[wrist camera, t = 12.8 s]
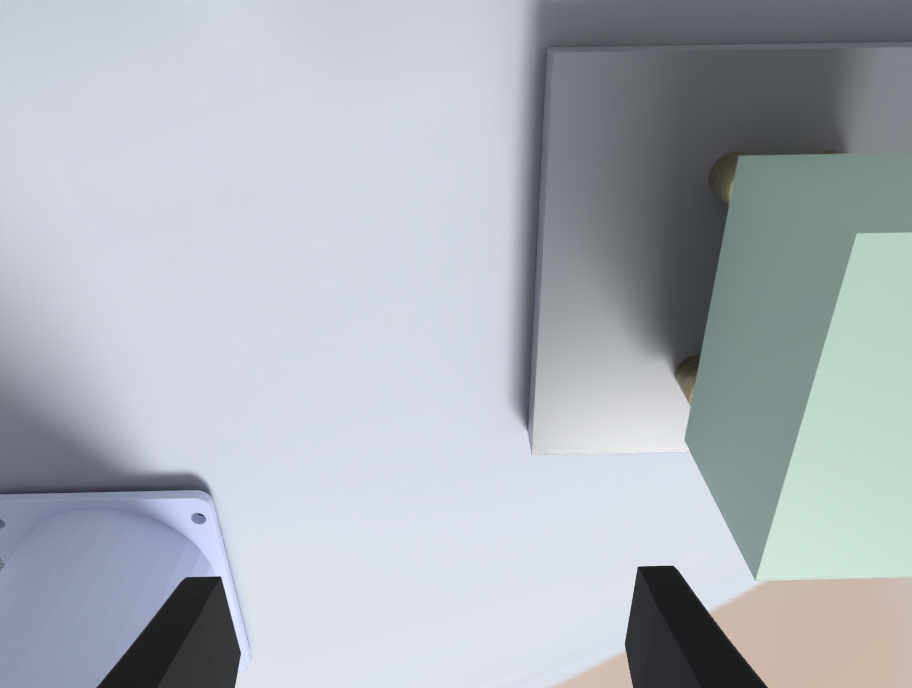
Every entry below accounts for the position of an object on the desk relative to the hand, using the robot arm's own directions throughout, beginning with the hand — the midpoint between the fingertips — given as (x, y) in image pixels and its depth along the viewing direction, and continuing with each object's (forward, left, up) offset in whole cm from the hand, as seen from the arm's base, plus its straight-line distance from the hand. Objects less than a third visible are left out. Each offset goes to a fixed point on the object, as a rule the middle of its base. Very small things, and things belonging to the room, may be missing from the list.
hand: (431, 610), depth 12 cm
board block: (+2, -9, -7) cm, 12 cm away
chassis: (+2, -9, -10) cm, 14 cm away
